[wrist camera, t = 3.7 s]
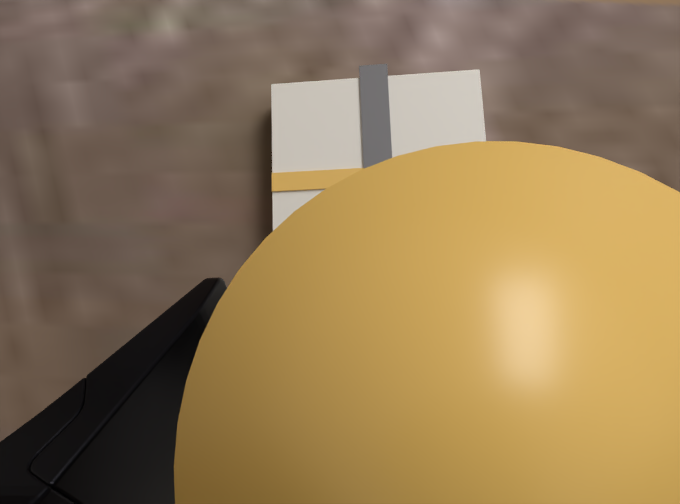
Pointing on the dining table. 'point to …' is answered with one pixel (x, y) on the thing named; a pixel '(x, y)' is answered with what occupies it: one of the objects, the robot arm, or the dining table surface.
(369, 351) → the lever
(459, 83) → the fader console
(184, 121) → the dining table surface
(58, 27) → the dining table surface
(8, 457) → the robot arm
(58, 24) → the dining table surface
